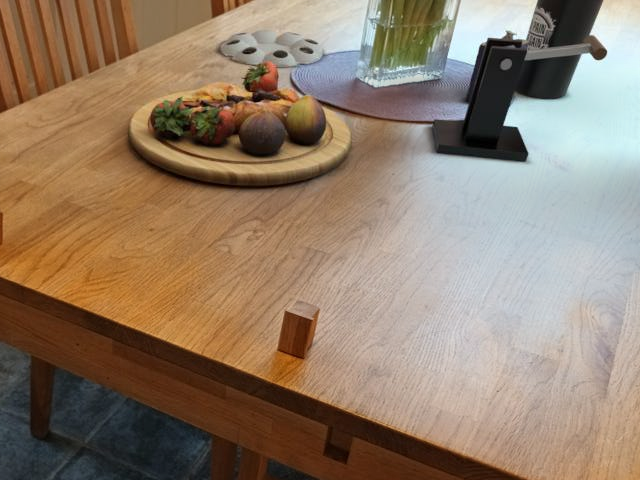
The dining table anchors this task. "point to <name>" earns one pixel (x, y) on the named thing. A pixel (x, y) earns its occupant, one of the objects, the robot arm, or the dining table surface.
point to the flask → (479, 58)
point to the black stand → (488, 108)
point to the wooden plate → (241, 133)
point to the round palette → (272, 49)
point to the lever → (570, 50)
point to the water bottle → (555, 45)
